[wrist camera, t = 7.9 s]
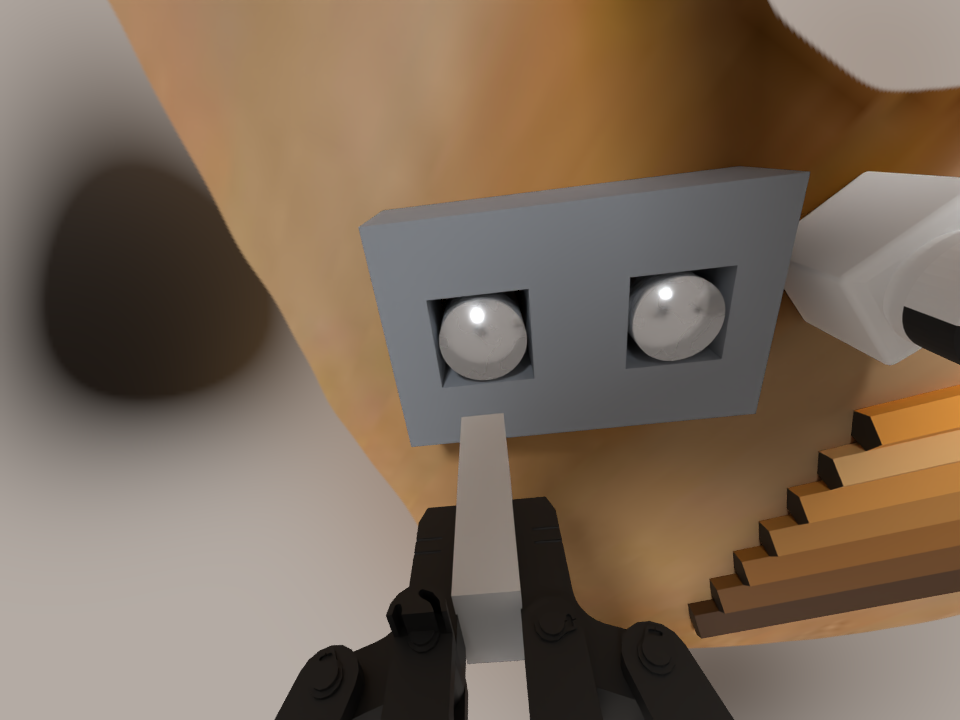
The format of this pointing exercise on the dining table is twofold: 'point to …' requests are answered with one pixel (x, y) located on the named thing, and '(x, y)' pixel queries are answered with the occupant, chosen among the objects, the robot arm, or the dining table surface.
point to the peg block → (586, 297)
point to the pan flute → (856, 525)
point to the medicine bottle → (883, 266)
